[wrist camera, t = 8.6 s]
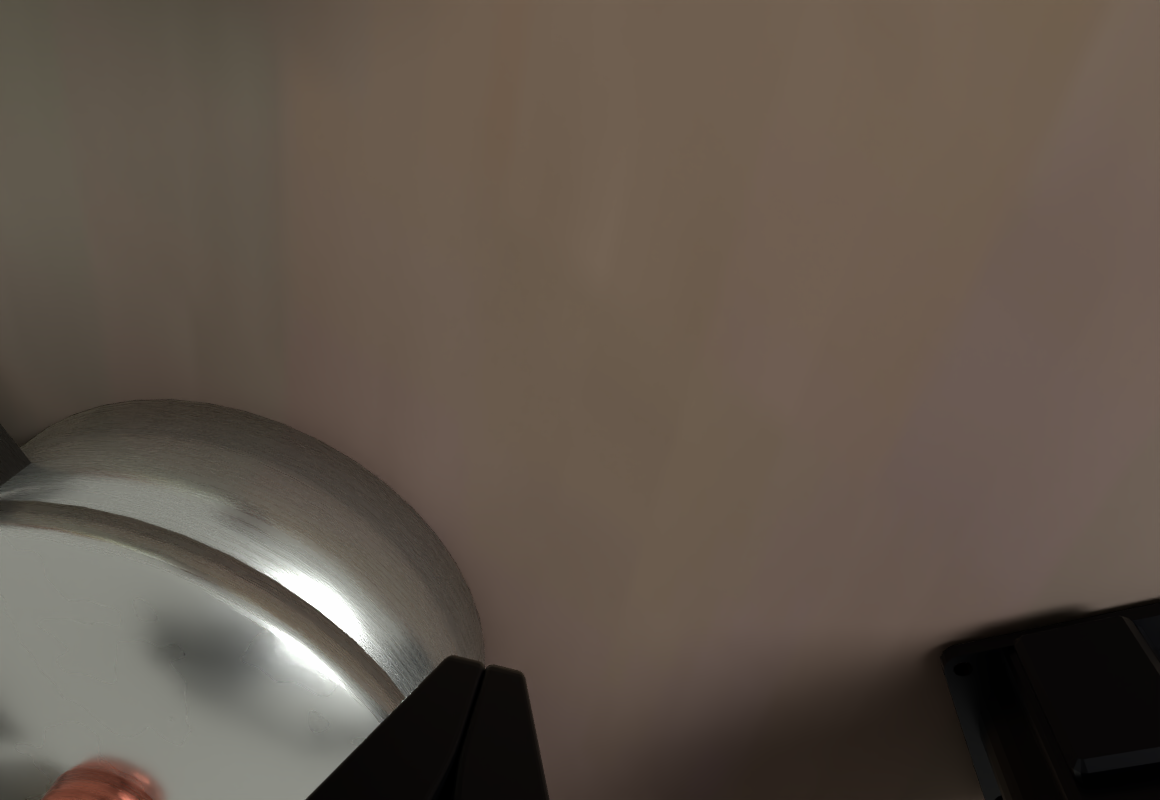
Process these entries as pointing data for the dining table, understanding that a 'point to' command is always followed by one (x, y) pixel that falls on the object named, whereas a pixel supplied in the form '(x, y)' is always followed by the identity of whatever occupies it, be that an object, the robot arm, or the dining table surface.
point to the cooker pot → (265, 517)
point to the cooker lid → (165, 668)
